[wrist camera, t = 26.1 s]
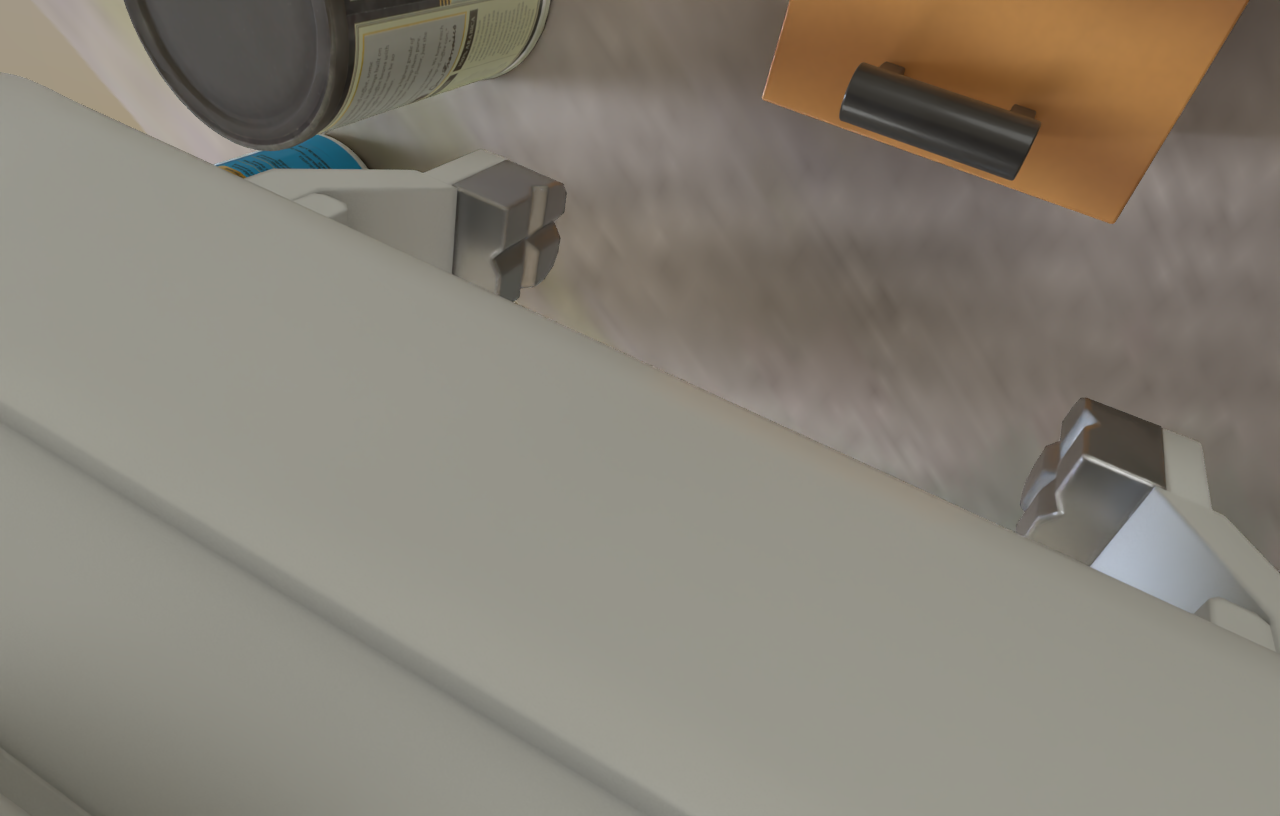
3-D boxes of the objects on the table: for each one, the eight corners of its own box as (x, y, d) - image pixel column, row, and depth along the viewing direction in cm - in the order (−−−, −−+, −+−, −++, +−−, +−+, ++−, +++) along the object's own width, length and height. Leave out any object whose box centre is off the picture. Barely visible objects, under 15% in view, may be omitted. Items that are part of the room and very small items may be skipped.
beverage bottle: (404, 274, 51) (102, 443, 36) (302, 253, 54) (-14, 400, 39) (379, 135, 46) (21, 260, 31) (269, 121, 50) (-103, 228, 35)
